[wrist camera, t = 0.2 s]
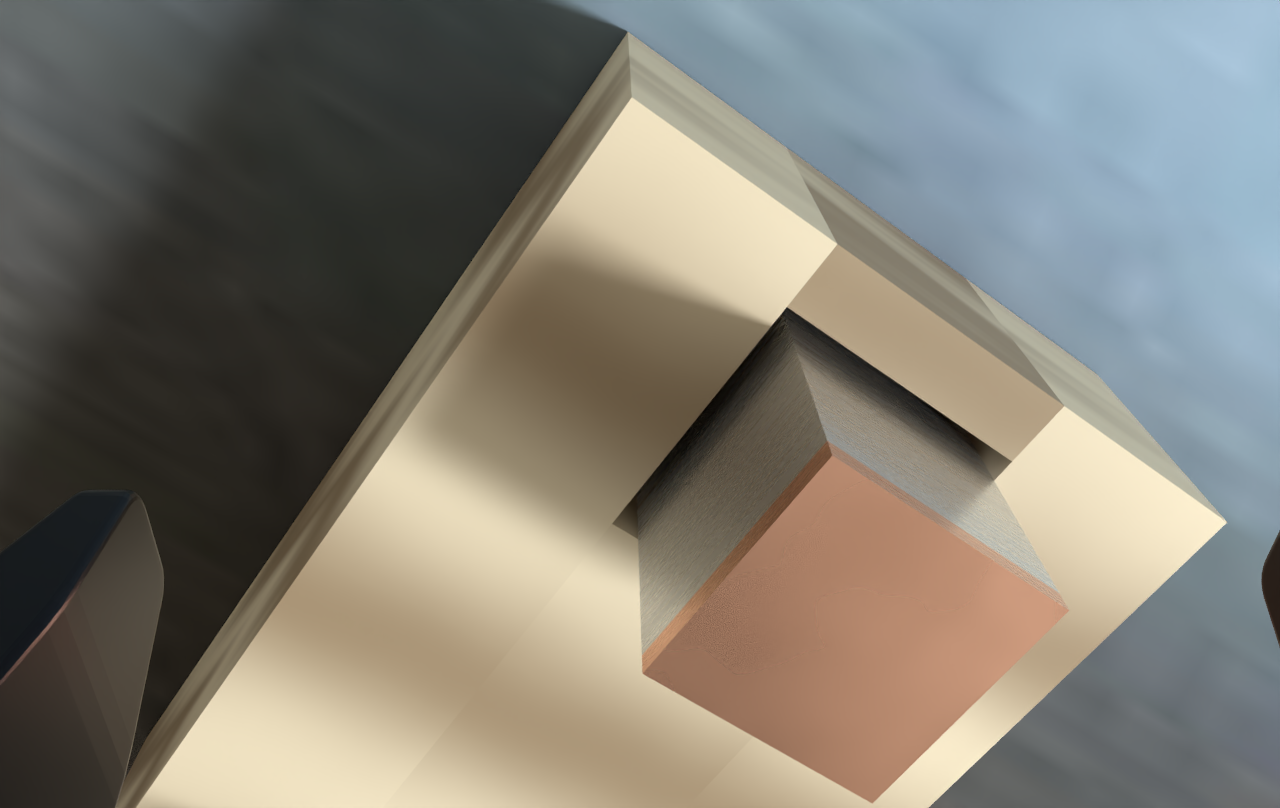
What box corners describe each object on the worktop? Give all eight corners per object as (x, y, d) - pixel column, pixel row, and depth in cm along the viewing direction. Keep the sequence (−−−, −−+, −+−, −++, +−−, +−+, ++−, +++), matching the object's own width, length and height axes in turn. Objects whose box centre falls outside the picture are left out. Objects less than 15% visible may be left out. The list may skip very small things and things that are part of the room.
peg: (812, 576, 23) (872, 804, 17) (636, 467, 22) (642, 674, 16) (957, 416, 21) (1069, 610, 16) (775, 291, 20) (832, 455, 15)
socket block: (563, 941, 32) (552, 1166, 27) (145, 739, 29) (38, 947, 24) (1097, 374, 26) (1227, 522, 20) (628, 32, 22) (632, 97, 17)
